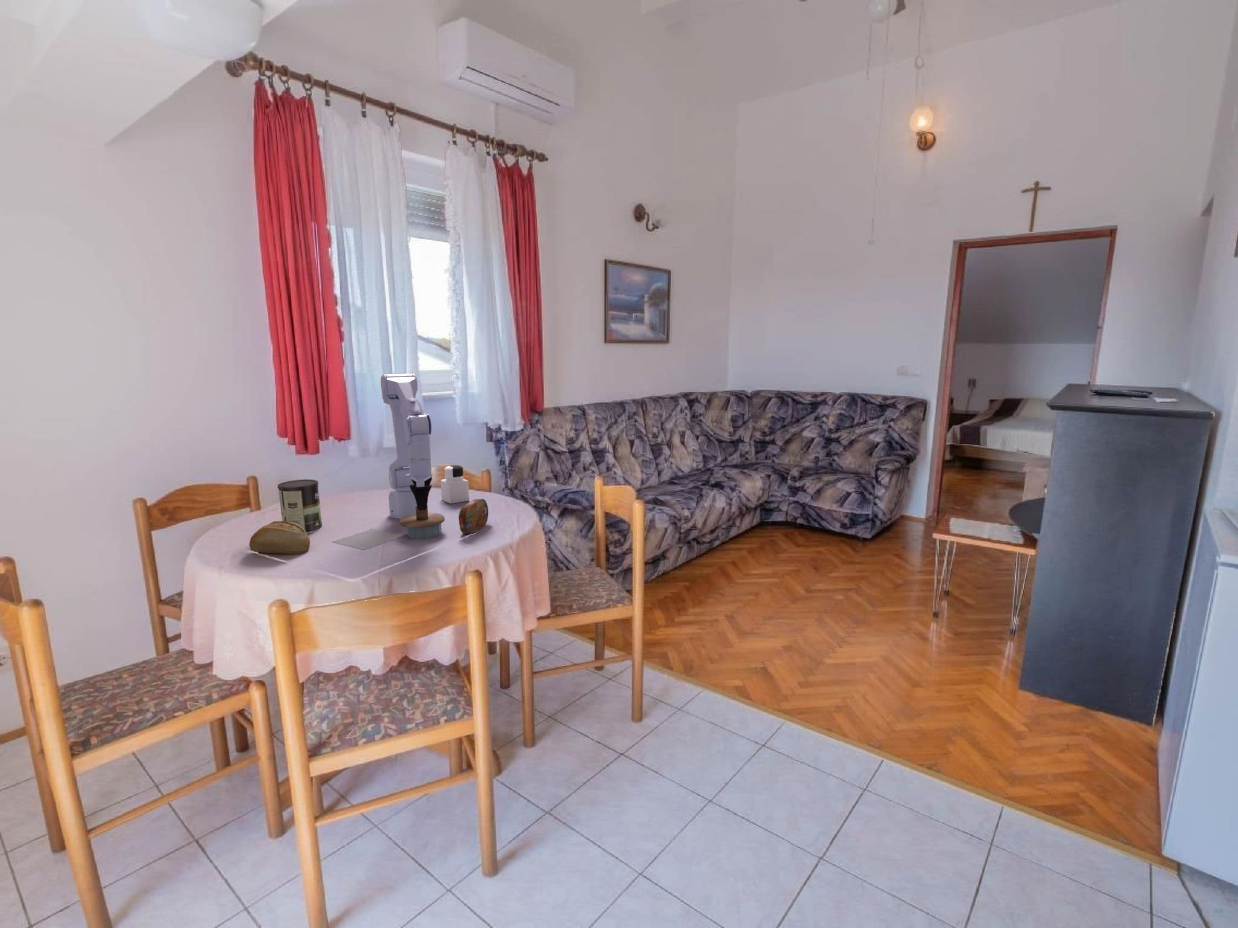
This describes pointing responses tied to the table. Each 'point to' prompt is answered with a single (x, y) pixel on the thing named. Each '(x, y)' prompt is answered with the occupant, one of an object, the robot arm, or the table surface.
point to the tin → (473, 516)
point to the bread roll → (280, 538)
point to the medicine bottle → (454, 485)
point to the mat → (367, 539)
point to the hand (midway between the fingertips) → (422, 506)
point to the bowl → (424, 532)
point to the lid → (422, 519)
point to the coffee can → (301, 503)
